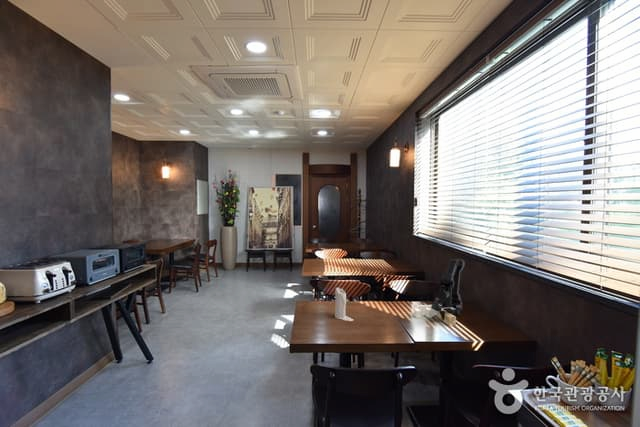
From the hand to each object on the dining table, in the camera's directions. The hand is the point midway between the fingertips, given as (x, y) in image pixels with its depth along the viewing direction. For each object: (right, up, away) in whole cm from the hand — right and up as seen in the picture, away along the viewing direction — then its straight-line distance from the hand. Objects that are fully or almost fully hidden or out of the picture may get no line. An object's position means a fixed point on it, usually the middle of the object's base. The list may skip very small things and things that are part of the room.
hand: (446, 319), depth 212 cm
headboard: (-8, -1, +10) cm, 13 cm away
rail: (0, -1, 0) cm, 1 cm away
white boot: (-67, 0, +2) cm, 67 cm away
